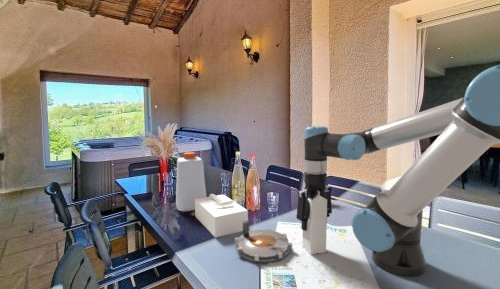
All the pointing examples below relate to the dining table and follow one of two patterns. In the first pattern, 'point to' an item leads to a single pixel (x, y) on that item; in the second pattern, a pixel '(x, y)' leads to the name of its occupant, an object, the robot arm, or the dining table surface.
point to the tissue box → (220, 214)
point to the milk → (317, 225)
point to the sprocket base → (262, 259)
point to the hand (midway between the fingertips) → (314, 235)
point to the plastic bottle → (189, 181)
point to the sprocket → (262, 243)
